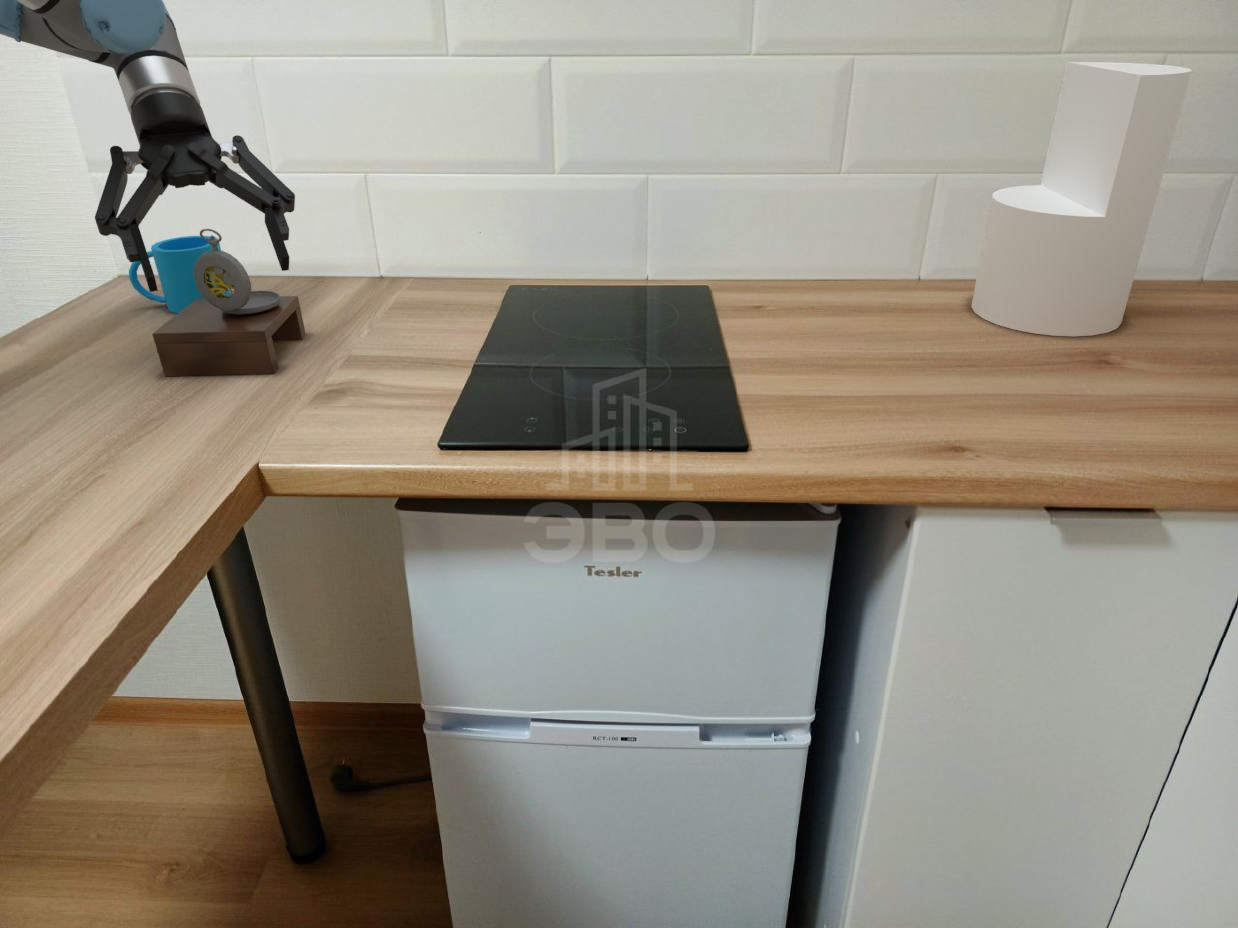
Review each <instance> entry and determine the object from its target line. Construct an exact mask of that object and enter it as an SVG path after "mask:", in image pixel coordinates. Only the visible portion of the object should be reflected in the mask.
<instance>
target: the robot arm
mask: <svg viewBox="0 0 1238 928" xmlns="http://www.w3.org/2000/svg"><path fill="white" fill-rule="evenodd" d="M0 35H2V36H5V37H7V38H10V39H13V40H14V41H16V42H17V43H21V42H22V43H26V44H29V45H34V46H37V47H41V48H43V49H47V50H50V51H55V52H58V53H60V54H65V55H68V56H73V57H75V58H78V59H79V58H80V59H83V60H87V61H88V62H89V63H90V62H91V63H94V64H98V65H100V66H101V65H102V66H105V67H108V68H112V69H113V70H114V73H115V75H116V79H117V81H118V84H119V86H120V89H121V93H122V95H123V99H124V102H125V105H126V108H127V111H128V113H129V115H130V120H131V124H132V126H133V130H134V133H135V135H136V139H137V142H138V144H139V149H138V150H137V151H135V150H133V151H132V150H131V151H129V150H127V151H126V150H124V149H123V148H122V147H121V146H119V145H111V146H110V148H109V153H110V160H111V166H110V169H109V173H108V175H107V178H106V181H105V183H104V184H105V185H104V187H103V191H102V194H101V196H100V200H99V202H98V206H97V208H96V212H95V215H94V220H95V223H96V227H97V230H98V233H99V234H100V235H101V236H103V237H108V236H110V235H112V236H113V235H114V236H117V237H119V239H120V241H121V244H122V247H123V250H124V253H125V256H126V259H127V261H128V262H130V263H132V262H138V261H140V262H141V264H140V266H141V268H142V271H143V274H144V278H145V280H146V283H147V287H148V291H149V292H151V293H153V292H158V285H157V281H156V277H155V274H154V270H153V267H152V264H151V262H150V261H151V260H150V258H148V254H147V252H148V251H147V248H146V245H145V241H144V239H143V236H142V232H141V230H140V227H139V226H140V225H141V223H142V222H143V220H145V217H146V216H147V214H148V213H149V212H150V210H151V209H152V207H153V206H154V204H155V202H156V201H157V200H158V198H159V196H162V195H163V194H164V193H165V192H166V190H167V188H168V187H169V186H171V187H174V188H175V189H181V188H185V187H188V186H197V187H200V186H206V183H208V182H209V183H211V184H212V185H214V186H215V187H217V188H219V189H224V190H226V191H227V192H229V193H230V194H232V195H233V196H235V197H237V198H239V199H240V200H242V201H243V202H244V203H247V204H248V205H250V206H251V207H252V208H254V209H256V210H258V211H259V212H260V213H263V214H264V225H265V227H266V229H267V233H268V235H269V238H270V241H271V244H272V247H273V249H274V252H275V255H276V258H277V260H278V263H279V267H280V270H281V271H282V272H284V271H289V270H290V254H289V252H288V249H287V246H286V243H285V241H286V242H287V241H289V240H290V226H289V224H288V222H287V219H286V216H285V214H286V213H292V212H294V211H295V205H296V194H295V193H294V192H293V191H292V190H291V189H290V188H289V187H288V186H287V185H286V184H285V183H284V182H283V181H282V180H281V179H280V178H279V177H278V176H276V174H274V173H273V172H272V171H271V170H270V169H269V167H267V166H266V165H265V164H264V163H263V162H262V161H261V160H260V159H259V158H257V156H256V155H255V154H253V152H252V151H251V150H250V149H249V147H248V145H247V143H246V141H245V138H243V136H241V135H234V136H232V140H231V141H229V142H223V143H218V142H217V141H216V140H215V139H214V137H213V135H212V133H211V129H210V128H209V127H210V126H209V125H208V121H207V118H206V116H205V113H204V110H203V108H202V106H201V101H200V98H199V95H198V93H197V90H196V86H195V85H194V81H193V78H192V77H191V73H190V71H189V68H188V64H187V62H186V59H185V55H184V52H183V49H182V46H181V42H180V40H179V37H178V33H177V28H176V25H175V23H174V20H173V19H172V17H171V15H170V13H169V10H168V8H167V7H166V5H165V2H164V1H163V0H0ZM223 157H225V158H228V159H229V160H230V161H231V162H232V163H233V164H235V165H236V164H237V165H238V166H239V167H240V169H241V170H242V171H243V172H244V173H245V174H246V175H247V176H248V177H249V178H250V179H251V180H252V181H251V180H249V179H247V178H246V177H244V176H242V175H241V174H240V173H237V172H236V171H235V170H233V169H231V168H230V167H229V166H228V165H227V163H226V162H224V161H223V160H222V158H223ZM138 165H141V166H142V168H144V169H145V170H146V174H145V177H144V178H143V180H142V181H141V183H140V184H139V186H138V187H137V189H136V190H135V191H134V193H133V194H132V195H131V197H130V198H129V200H128V201H127V203H126V204H125V205H124V207H123V208H122V209H121V211H120V212H119V210H120V207H121V204H122V201H123V197H124V194H125V192H126V188H127V184H128V180H129V179H128V178H129V175H132V174H133V172H134V171H135V169H136V166H138ZM254 182H255V183H254ZM118 213H119V214H118Z"/></svg>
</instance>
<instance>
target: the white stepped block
mask: <svg viewBox="0 0 1238 928" xmlns="http://www.w3.org/2000/svg"><path fill="white" fill-rule="evenodd" d="M1192 73H1193V69H1191V68H1188V67H1184V66H1177V65H1168V64H1157V63H1156V64H1155V63H1142V62H1140V63H1139V62H1117V61H1116V62H1115V61H1113V62H1112V61H1066V63H1065V69H1064V73H1063V78H1062V82H1061V86H1060V93H1059V97H1058V101H1057V106H1056V109H1055V110H1056V111H1055V115H1054V120H1053V124H1052V129H1051V134H1050V137H1049V138H1050V139H1049V142H1048V148H1047V153H1046V157H1045V161H1044V166H1043V171H1042V175H1041V180H1040V184H1032V185H1031V184H1030V185H1017V186H1009V187H1004V188H1001V189H998V190H995V191H994V192H992V195H991V199H990V205H989V206H990V207H989V209H988V210H989V211H988V216H987V221H986V226H985V231H984V238H983V241H982V248H981V253H980V257H979V262H978V268H977V274H976V280H975V284H974V289H973V295H972V301H971V306H970V307H971V309H972V311H973V313H974V314H976V315H977V316H979V317H980V318H982V319H983V320H984V321H985V320H986V321H988V322H990V323H992V324H994V325H997V326H1000V327H1004V328H1007V329H1011V330H1014V331H1019V332H1025V333H1029V334H1036V335H1044V336H1053V337H1075V338H1076V337H1088V336H1089V337H1091V336H1097V335H1098V336H1099V335H1103V334H1108V333H1110V332H1112V331H1114V330H1118V328H1119V327H1120V325H1121V324H1122V323H1123V318H1124V315H1125V311H1126V307H1127V305H1128V300H1129V297H1130V293H1131V290H1132V287H1133V284H1134V283H1133V282H1134V279H1135V275H1136V272H1137V269H1138V265H1139V261H1140V258H1141V255H1142V252H1143V247H1144V243H1145V240H1146V236H1147V233H1148V229H1149V225H1150V222H1151V218H1152V215H1153V212H1154V209H1155V204H1156V201H1157V197H1158V194H1159V190H1160V186H1161V184H1162V179H1163V176H1164V172H1165V169H1166V165H1167V162H1168V158H1169V155H1170V151H1171V147H1172V144H1173V141H1174V137H1175V133H1176V130H1177V126H1178V123H1179V119H1180V117H1181V116H1180V114H1181V112H1182V109H1183V104H1184V100H1185V98H1186V94H1187V90H1188V86H1189V83H1190V80H1191V77H1192Z"/></svg>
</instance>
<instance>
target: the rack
mask: <svg viewBox="0 0 1238 928" xmlns="http://www.w3.org/2000/svg"><path fill="white" fill-rule="evenodd" d="M306 335H307V333H306V329H305V323H304V319H303V314H302V309H301V303H300V300H299V295H282V296H281V295H280V303H279V304H278V305H277V306H275V307H273V308H271V309H269V310H266V311H262V312H258V313H252V314H229V313H225V312H222V311H221V310H220V309H219V308H216V307H215V306H213V305H212V304H210V303H209V302H208V301H207V300H206V299H205V298H197V299H196V300H194V301H193V302H192V303H191V304H189V305H188V306H187V307H186V308H184V309H183V310H182V311H180V312H179V313H176V314H175V315H174V316H173V317H171V318H170V319H169V320H167V321H166V322H165V323H164V324H163V325H161V326H160V327H159V328H157V329H156V330H155V331H153V332H152V338H153V342H154V344H155V348H156V352H157V353H158V354H157V355H158V359H159V362H160V365H161V368H162V371H163V375H164V377H192V376H194V377H196V376H199V377H200V376H231V375H232V376H233V375H234V376H235V375H236V376H237V375H239V376H240V375H274V374H276V372H277V371H278V370H279V364H278V359H277V354H276V350H275V346H274V342H275V341H303V340H304V338H305V337H306Z"/></svg>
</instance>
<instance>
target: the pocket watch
mask: <svg viewBox="0 0 1238 928" xmlns="http://www.w3.org/2000/svg"><path fill="white" fill-rule="evenodd" d="M204 232H212V233H213V234H215V235H216V236H217V237H218V239H219V240H217V239H214V238H215V237H216V236H214V235H213V234H212V235H209V236H210V238H211V239H209V240H207V239H206V238H205V237H204V236H205V235H203V233H204ZM199 236H201V237H202V238H203V239H204V240H205V241H207V242H208V243H209V244H210V245H212V248H213V250H210V251H207V252H205V253H203V254H202V255H201V256H200V257H199V258H198V259H197V261H196V262H195V265H194V271H193V272H194V279H195V283H196V286H197V288H198V290H199V291H200V293H201V295H202V296H203V297H204V298H205V299H206V300H207V301H208V302H209V303H210V304H212V305H213V306H215V307H216V308H219V309H220V310H221V311H222V312H225V313H229V314H252V313H258V312H262V311H266V310H269V309H271V308H273V307H275V306H277V305H278V304H279V303H280V296H281V295H280V294H279V293H277V292H275V291H272V290H252V283H251V282H252V281H251V278H250V277H249V276H250V275H249V274H248V272H247V271H246V268H245V267H244V265H243V264H242V263H241V262H240V261H239V259H237V258H236V257H235V256H233V255H232V254H231V253H228V252H226V251H224V250H221V251H220V250H218V248H217V245H218V244H220V242H221V241H222V239H223V238H222V235H221V234H220V233H219V232H218V231H216V230H215V229H211V228H203V229H201V230H200V231H199ZM210 271H211V273H210ZM213 272H214V273H215V274H214V273H213ZM210 275H211V277H212V278H213V280H212V279H211V278H210ZM216 278H217V279H216ZM210 279H211V280H212V281H211V280H210ZM214 280H215V281H214ZM225 283H226V284H225ZM213 284H215V285H214V286H216V288H214V286H213ZM217 286H219V287H217ZM227 288H228V289H229V288H230V289H229V290H228V289H227ZM218 290H220V291H218ZM230 290H231V295H230V296H226V295H225V296H224V295H223V293H224V294H225V292H227V291H230Z"/></svg>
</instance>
